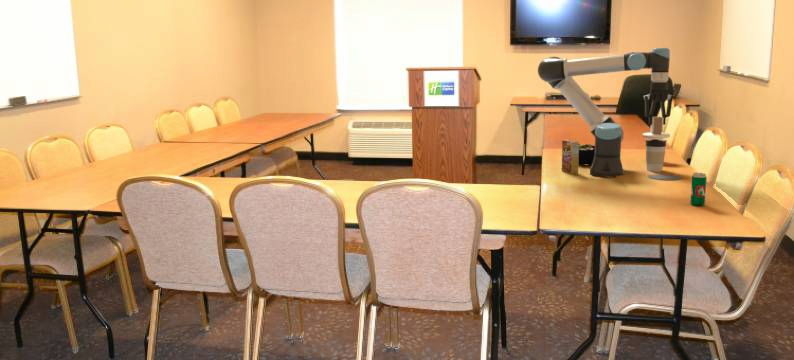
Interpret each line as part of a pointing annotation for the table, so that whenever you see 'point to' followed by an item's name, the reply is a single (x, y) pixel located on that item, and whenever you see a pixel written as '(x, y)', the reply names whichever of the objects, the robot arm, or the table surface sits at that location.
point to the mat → (665, 177)
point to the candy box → (570, 156)
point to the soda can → (698, 189)
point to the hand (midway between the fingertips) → (656, 131)
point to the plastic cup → (657, 139)
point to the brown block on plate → (657, 130)
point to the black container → (586, 154)
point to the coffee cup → (655, 155)
